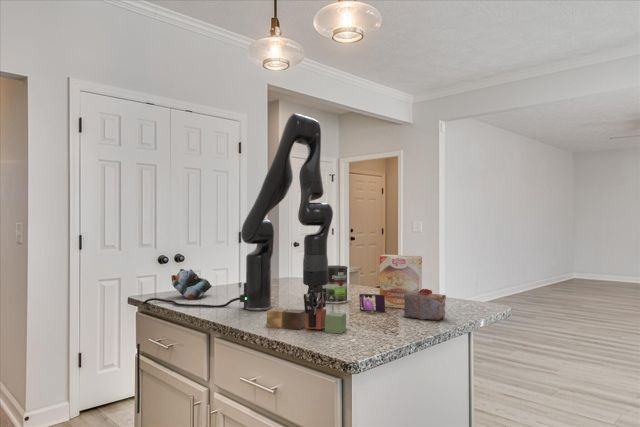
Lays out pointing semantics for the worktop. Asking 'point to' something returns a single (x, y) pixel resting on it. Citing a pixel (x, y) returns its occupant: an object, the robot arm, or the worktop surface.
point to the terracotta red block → (317, 319)
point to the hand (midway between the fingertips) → (315, 324)
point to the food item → (424, 305)
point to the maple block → (276, 317)
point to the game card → (368, 304)
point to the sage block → (335, 322)
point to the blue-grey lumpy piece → (190, 284)
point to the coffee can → (336, 285)
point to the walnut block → (295, 319)
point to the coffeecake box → (399, 278)
